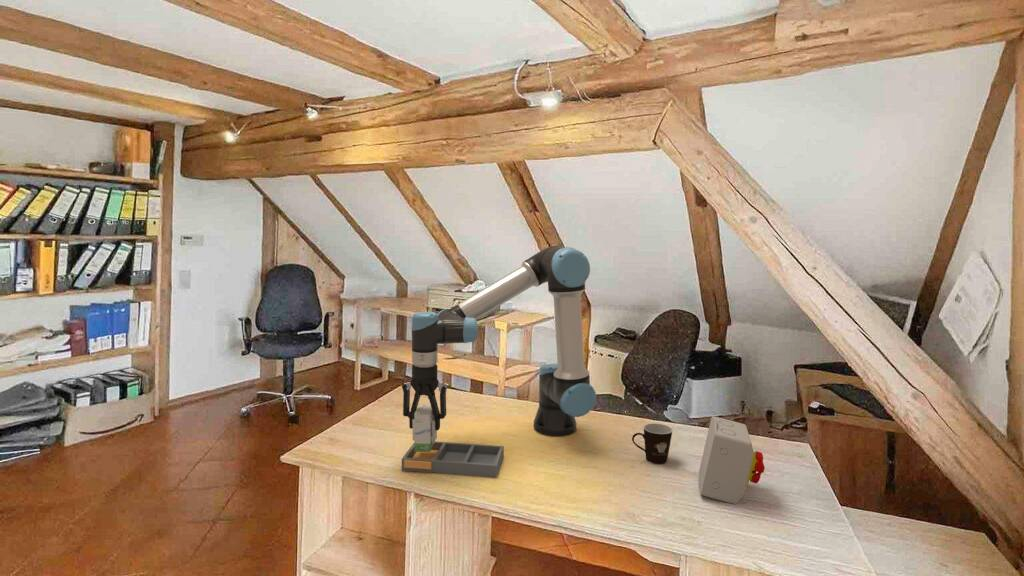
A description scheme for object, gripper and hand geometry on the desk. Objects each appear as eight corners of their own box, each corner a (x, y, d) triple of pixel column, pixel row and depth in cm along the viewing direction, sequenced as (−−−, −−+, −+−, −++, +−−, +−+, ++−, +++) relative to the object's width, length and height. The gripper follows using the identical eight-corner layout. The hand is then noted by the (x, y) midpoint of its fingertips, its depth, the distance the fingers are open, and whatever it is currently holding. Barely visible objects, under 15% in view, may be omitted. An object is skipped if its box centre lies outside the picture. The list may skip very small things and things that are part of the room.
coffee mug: (671, 456, 174) (673, 425, 173) (669, 467, 166) (671, 435, 165) (634, 450, 178) (635, 420, 177) (630, 461, 170) (632, 430, 169)
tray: (503, 456, 172) (503, 445, 172) (496, 478, 158) (496, 466, 157) (416, 450, 176) (416, 440, 175) (401, 471, 161) (400, 459, 161)
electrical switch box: (758, 516, 144) (777, 445, 140) (699, 499, 148) (715, 429, 144) (752, 490, 157) (768, 425, 154) (697, 475, 161) (712, 411, 158)
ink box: (419, 440, 172) (418, 404, 171) (436, 441, 172) (435, 404, 170) (413, 452, 164) (412, 413, 162) (431, 452, 163) (430, 413, 162)
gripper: (390, 365, 162) (391, 442, 165) (451, 369, 160) (451, 446, 162) (399, 359, 169) (399, 432, 172) (457, 362, 167) (457, 436, 170)
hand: (424, 439), depth 167 cm, fingers closed on ink box, 5 cm apart
